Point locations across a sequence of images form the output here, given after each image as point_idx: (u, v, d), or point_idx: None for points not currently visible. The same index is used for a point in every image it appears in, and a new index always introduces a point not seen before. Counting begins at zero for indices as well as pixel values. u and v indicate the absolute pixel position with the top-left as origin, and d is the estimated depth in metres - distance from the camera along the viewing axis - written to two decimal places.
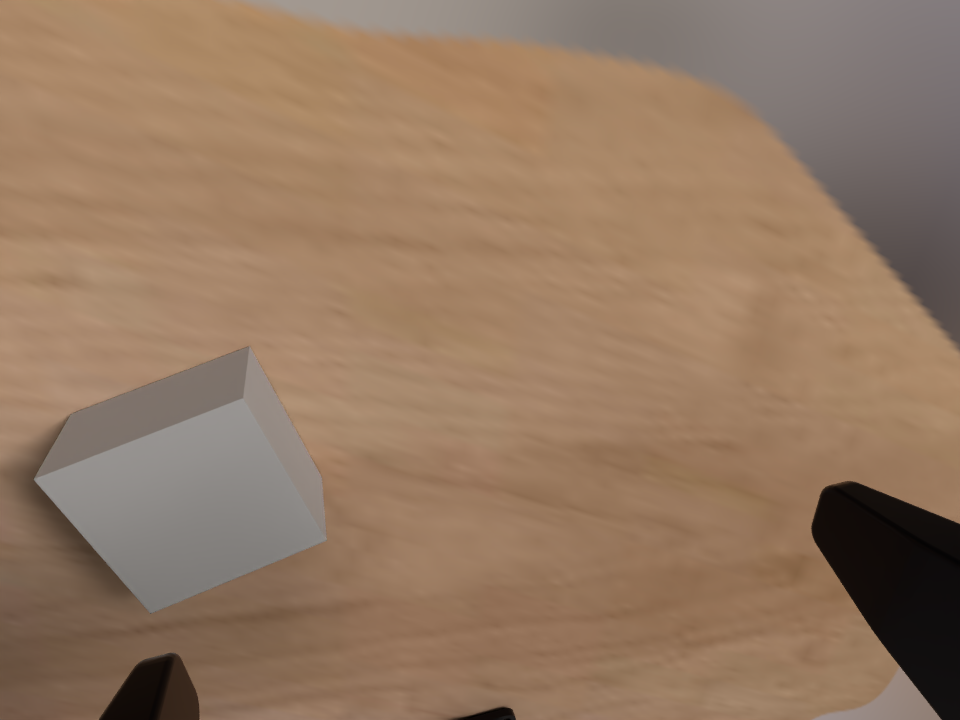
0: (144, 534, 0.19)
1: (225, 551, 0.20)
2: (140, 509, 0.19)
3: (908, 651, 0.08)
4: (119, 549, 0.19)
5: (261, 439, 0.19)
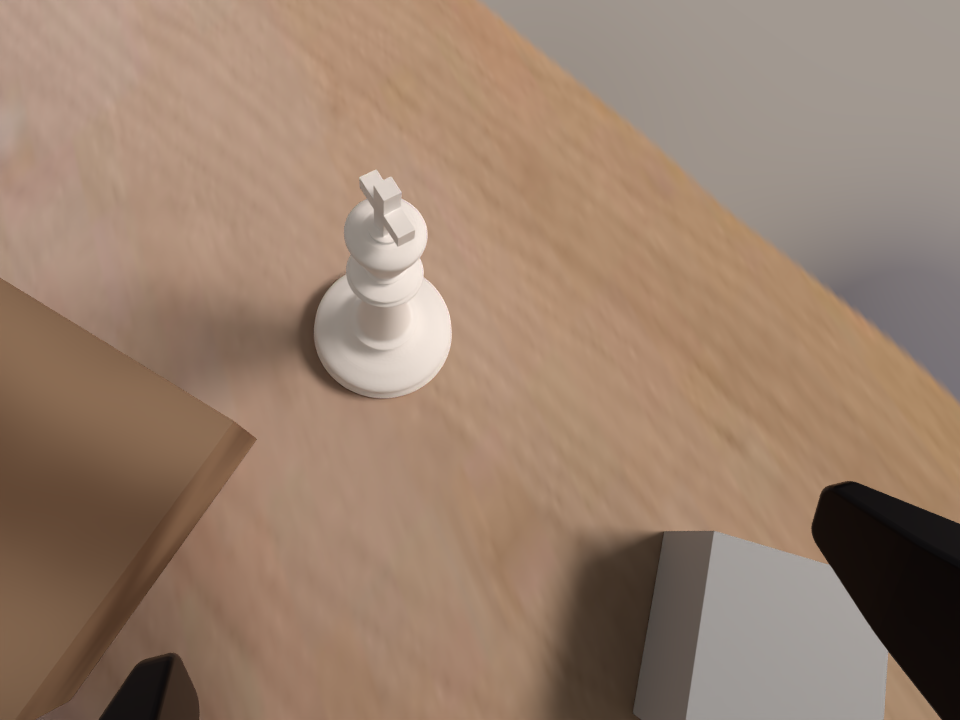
0: (743, 648, 0.18)
1: None
2: (759, 620, 0.19)
3: (908, 651, 0.08)
4: (715, 646, 0.18)
5: None
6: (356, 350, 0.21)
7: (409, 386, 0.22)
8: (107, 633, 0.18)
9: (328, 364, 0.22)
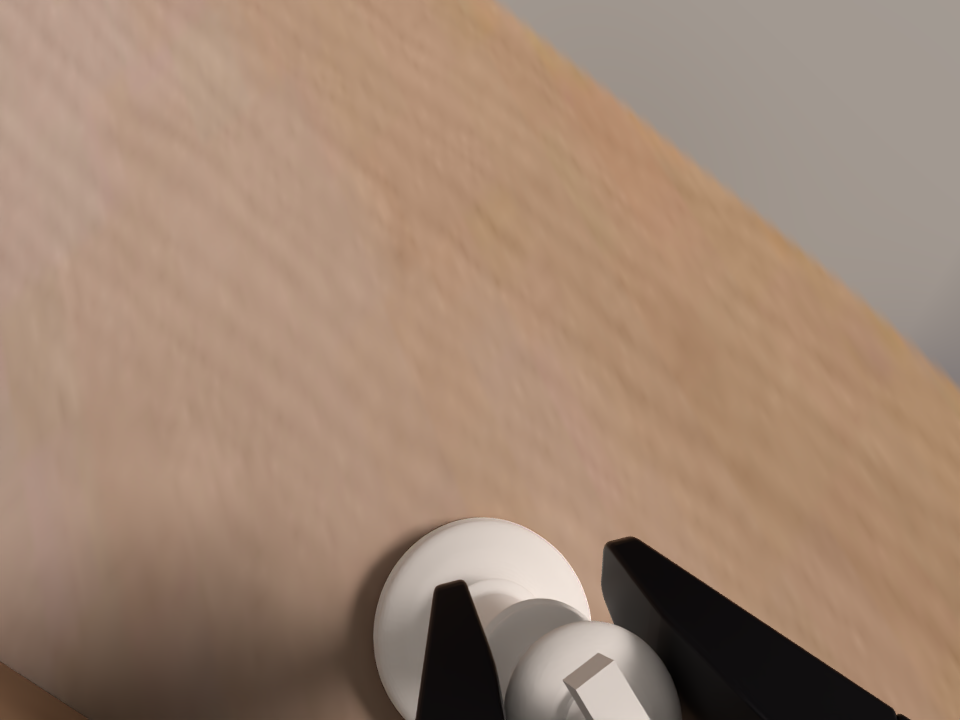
0: None
1: None
2: None
3: None
4: None
5: None
6: None
7: None
8: None
9: (401, 710, 0.13)
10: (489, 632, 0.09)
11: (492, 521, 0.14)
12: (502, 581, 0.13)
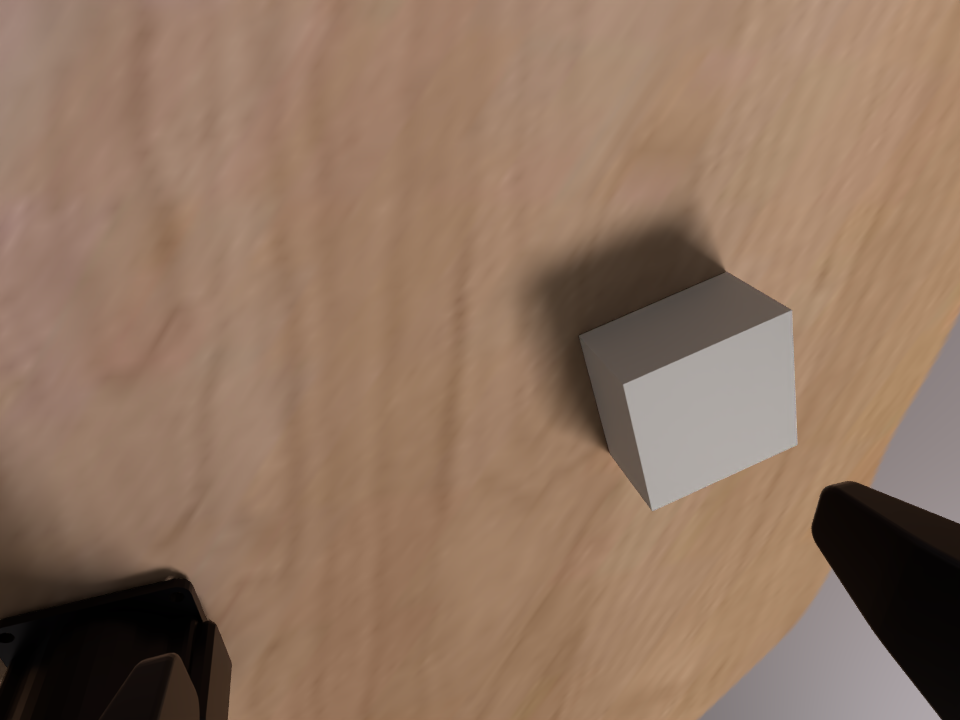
0: (711, 382, 0.21)
1: (670, 440, 0.21)
2: (736, 380, 0.21)
3: (908, 651, 0.08)
4: (704, 363, 0.20)
5: (761, 458, 0.23)
6: None
7: None
8: None
9: None
10: None
11: None
12: None
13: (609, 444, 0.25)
